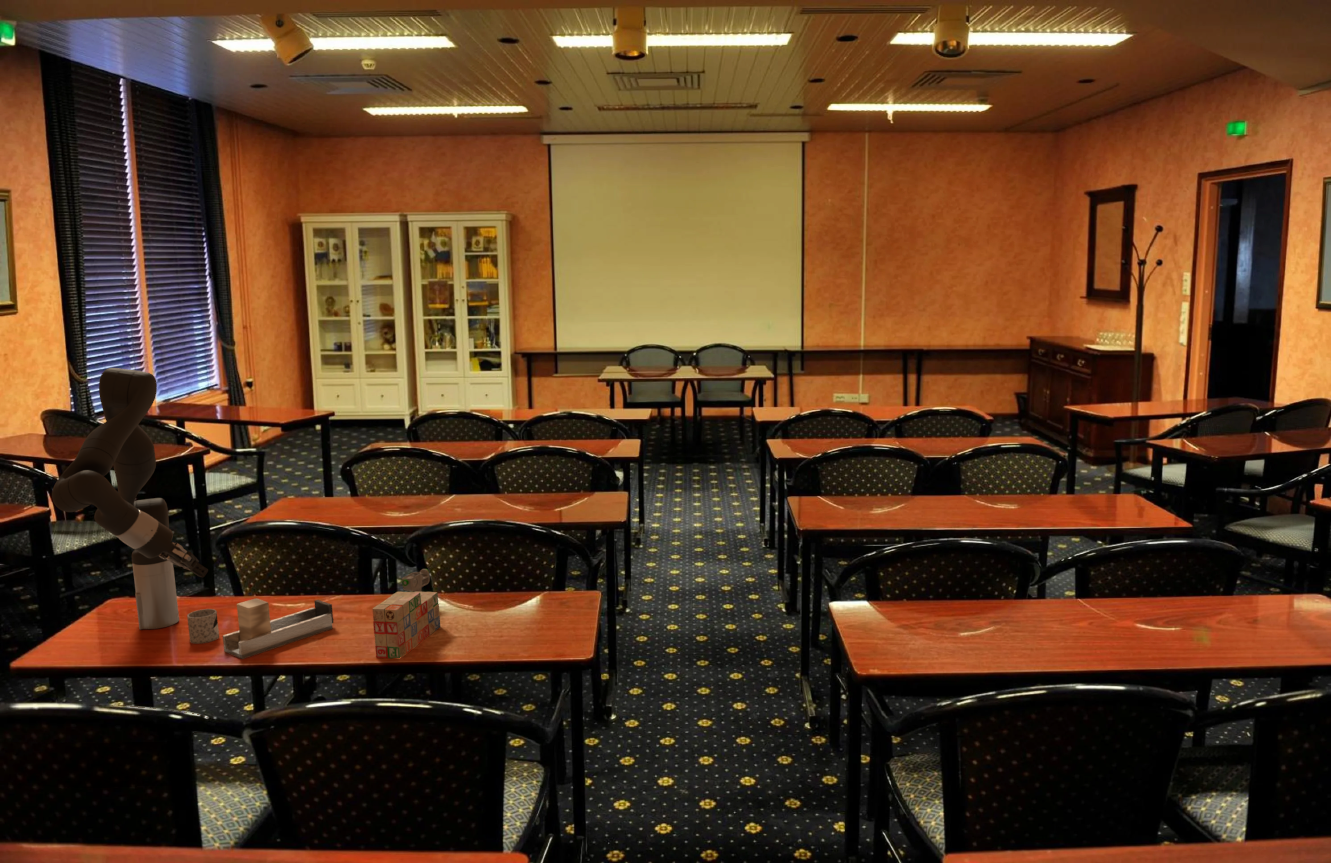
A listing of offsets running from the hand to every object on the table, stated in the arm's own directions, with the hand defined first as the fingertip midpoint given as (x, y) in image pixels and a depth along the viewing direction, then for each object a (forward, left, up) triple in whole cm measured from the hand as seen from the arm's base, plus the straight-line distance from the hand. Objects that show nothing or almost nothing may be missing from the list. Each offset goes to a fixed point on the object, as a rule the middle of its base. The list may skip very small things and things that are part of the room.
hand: (204, 573), depth 224 cm
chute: (+15, +7, -21) cm, 27 cm away
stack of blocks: (+43, -11, -22) cm, 50 cm away
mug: (-2, +20, -22) cm, 29 cm away
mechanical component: (+50, +12, -22) cm, 56 cm away
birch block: (+10, +5, -20) cm, 23 cm away
